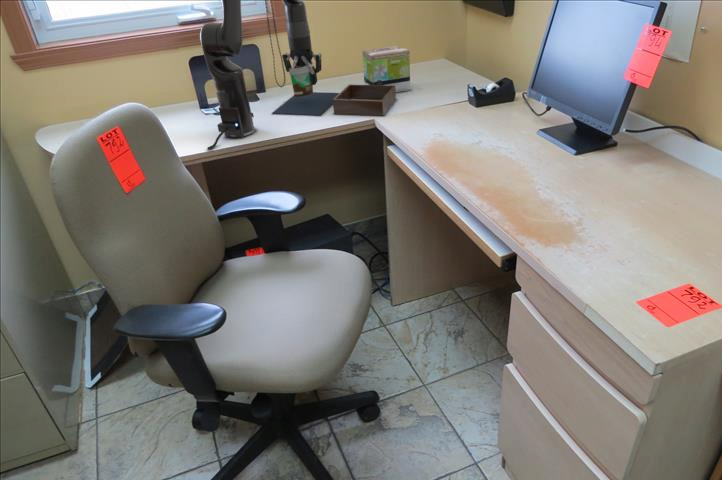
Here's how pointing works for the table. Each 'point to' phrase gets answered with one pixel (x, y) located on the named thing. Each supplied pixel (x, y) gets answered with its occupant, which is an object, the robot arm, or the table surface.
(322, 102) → the desk mat
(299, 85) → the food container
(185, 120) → the table surface
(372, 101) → the crate
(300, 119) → the table surface
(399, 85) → the tea box
